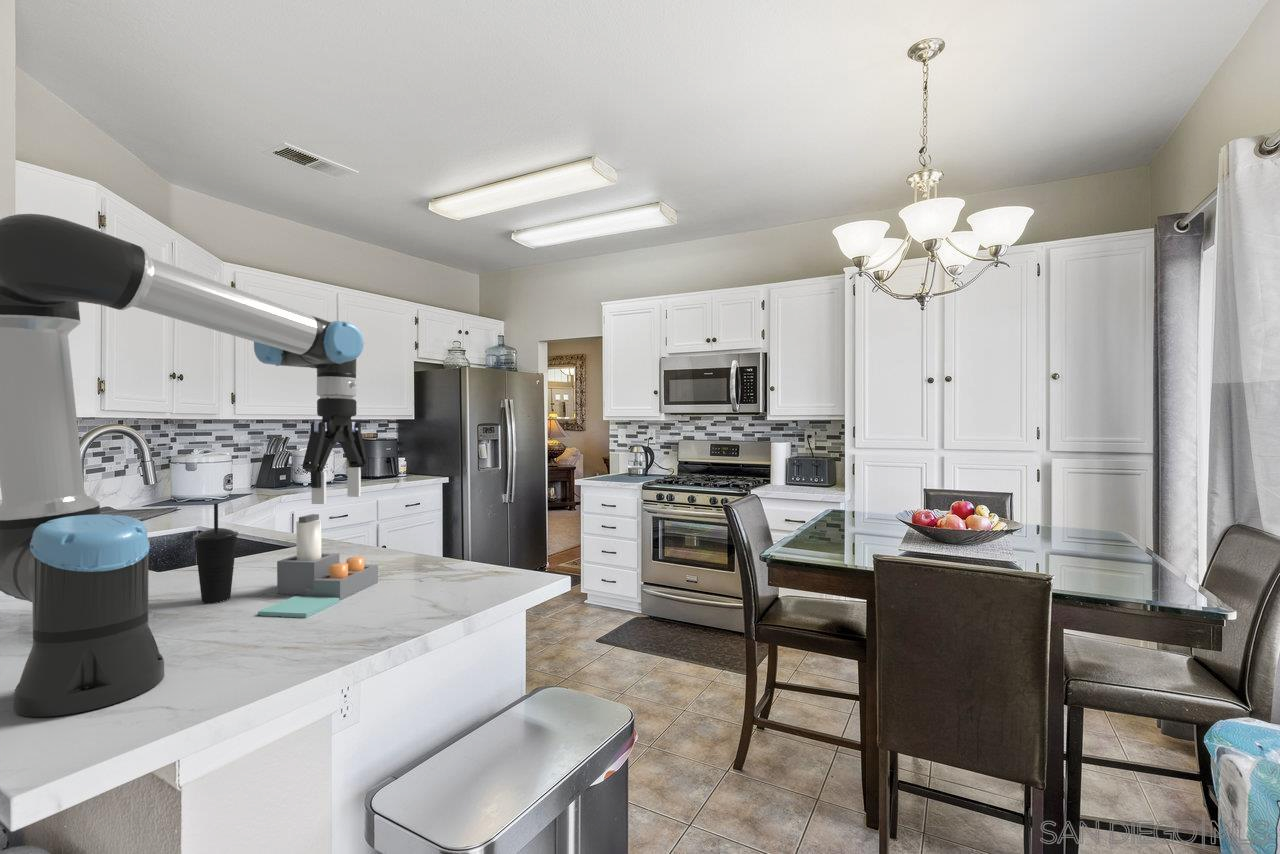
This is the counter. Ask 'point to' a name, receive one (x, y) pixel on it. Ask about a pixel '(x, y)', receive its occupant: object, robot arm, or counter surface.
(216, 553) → the drinking cup
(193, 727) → the counter surface
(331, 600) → the mat
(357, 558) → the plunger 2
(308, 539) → the cylinder
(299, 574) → the grey stepped holder
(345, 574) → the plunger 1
